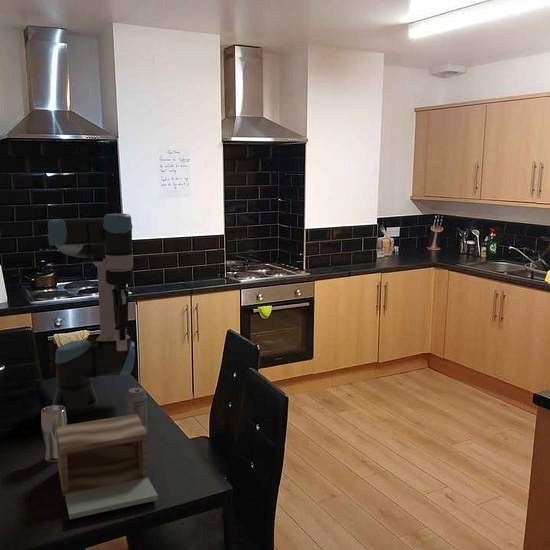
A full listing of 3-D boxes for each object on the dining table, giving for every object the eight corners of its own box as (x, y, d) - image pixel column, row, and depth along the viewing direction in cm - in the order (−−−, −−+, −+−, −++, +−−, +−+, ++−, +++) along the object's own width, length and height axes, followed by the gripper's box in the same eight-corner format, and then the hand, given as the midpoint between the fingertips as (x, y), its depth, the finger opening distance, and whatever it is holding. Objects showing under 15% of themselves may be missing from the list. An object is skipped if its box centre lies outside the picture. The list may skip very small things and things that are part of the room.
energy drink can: (141, 428, 189) (140, 385, 187) (151, 435, 185) (149, 390, 182) (124, 433, 185) (123, 389, 183) (133, 440, 181) (132, 395, 178)
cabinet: (58, 473, 161) (56, 426, 158) (138, 458, 170) (137, 413, 167) (62, 499, 148) (60, 448, 146) (148, 482, 157) (147, 433, 155)
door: (65, 494, 147) (69, 514, 136) (147, 477, 155) (157, 495, 144) (65, 502, 147) (69, 523, 136) (148, 485, 155) (158, 503, 144)
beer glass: (44, 465, 165) (41, 416, 162) (42, 454, 171) (39, 407, 168) (70, 460, 168) (67, 411, 165) (66, 450, 174) (64, 403, 172)
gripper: (102, 266, 166) (105, 345, 170) (109, 273, 155) (112, 358, 159) (128, 264, 169) (131, 342, 174) (137, 272, 158) (139, 355, 162)
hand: (122, 349), depth 166 cm, fingers closed
